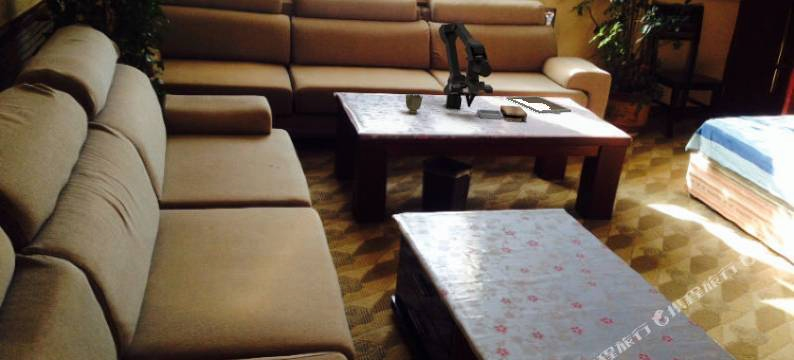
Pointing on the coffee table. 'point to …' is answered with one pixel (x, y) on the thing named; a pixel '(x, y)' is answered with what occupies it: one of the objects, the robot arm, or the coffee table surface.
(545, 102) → the grey picture frame
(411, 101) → the cup
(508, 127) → the coffee table surface
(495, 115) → the grey shallow tray
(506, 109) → the overhang
